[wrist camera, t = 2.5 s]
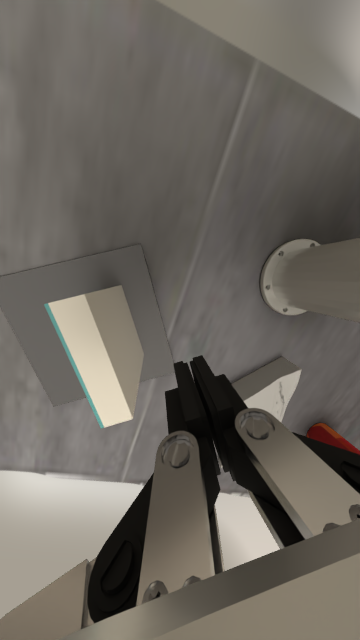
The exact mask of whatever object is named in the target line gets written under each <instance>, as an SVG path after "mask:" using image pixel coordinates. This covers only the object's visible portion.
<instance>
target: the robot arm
mask: <svg viewBox="0 0 360 640" xmlns="http://www.w3.org/2000/svg"><path fill="white" fill-rule="evenodd" d="M260 287H261V293H262V296H263V299H264V301H265V302H266V304H267V305H268V306H269V307H270V308H271V309H272V310H274V311H276V312H278V313H281V314H284V315H298V314H302V313H304V312H306V311H311V312H315V313H319V314H324V315H328V316H332V317H337V318H341V319H345V320H350V321H354V322H358V323H360V238H357V239H351V240H346V241H341V242H335V243H330V244H325V245H320V244H319V243H317V242H316V241H313V240H310V239H298V240H293V241H290V242H287V243H285V244H283V245H281V246H280V247H279V248H277V249H276V250H275V251H274V252H273V253H272V254H271V255H270V257H269V258H268V260H267V261H266V263H265V265H264V267H263V270H262V274H261V280H260ZM173 365H174V370H175V375H176V379H177V384H178V388H175V389H172V390H169V391H165V398H166V410H167V421H168V432H169V435H168V436H166V437H165V438H164V439H163V440H162V442H161V443H160V445H159V447H158V450H157V454H156V461H155V468H154V473H153V475H152V476H151V477H150V479H149V480H148V482H147V483H146V485H145V486H144V488H143V489H142V490H141V492H140V493H139V495H138V496H137V498H136V499H135V501H134V502H133V503H132V505H131V507H130V508H129V509H128V511H127V512H126V514H125V515H124V517H123V518H122V519H121V521H120V522H119V524H118V525H117V527H116V528H115V529H114V531H113V533H112V534H111V535H110V537H109V538H108V540H107V541H106V542H105V544H104V546H103V547H102V549H101V551H100V552H99V554H98V556H97V557H96V558H95V559H93V560H92V561H91V562H89V561H88V560H87V559H86V560H84V561H83V562H82V563H80V564H78V565H77V566H76V567H74V568H73V569H71V570H70V571H68V572H67V573H66V574H64V575H62V576H61V577H60V578H58V579H57V580H55V581H54V582H52V583H51V584H49V585H48V586H47V587H45V588H44V589H42V590H41V591H39V592H38V593H36V594H35V595H34V596H32V597H30V598H29V599H28V600H26V601H25V602H23V603H22V604H20V605H19V606H17V607H16V608H14V609H13V610H11V611H10V612H9V613H7V614H6V615H5V616H4V617H2V618H1V619H0V640H360V455H359V454H357V453H354V452H351V451H348V450H345V449H342V448H339V447H335V446H332V445H329V444H326V443H323V442H320V441H317V440H314V439H311V438H308V437H305V436H302V435H299V434H296V433H293V432H291V431H290V430H289V429H288V428H286V427H285V426H284V425H283V424H282V423H281V422H280V421H279V420H278V419H277V418H275V417H274V416H273V415H272V414H270V413H269V412H267V411H265V410H263V409H259V408H248V407H247V405H246V404H245V403H244V401H243V400H242V398H241V397H240V396H239V394H238V393H237V391H236V390H235V389H234V387H233V386H232V384H231V383H230V382H229V380H228V379H227V377H226V376H225V375H224V374H222V375H219V376H214V374H213V372H212V371H211V369H210V367H209V366H208V364H207V363H206V361H205V359H204V358H203V356H202V355H201V356H198V357H195V358H193V361H190V365H191V369H192V373H193V377H194V380H193V377H192V375H191V372H190V369H189V367H188V364H187V363H183V361H181V362H177V363H174V364H173ZM194 381H195V383H194ZM213 441H214V443H213ZM214 444H215V447H216V450H217V453H218V455H219V458H220V461H221V464H222V467H223V469H224V472H228V471H230V474H231V477H232V479H233V481H235V480H236V482H237V484H239V485H241V486H242V487H244V488H246V489H247V490H248V493H249V495H250V497H251V499H252V501H253V502H254V504H255V506H256V507H257V509H258V511H259V513H260V515H261V516H262V518H263V520H264V522H265V523H266V525H267V527H268V528H269V530H270V532H271V534H272V536H273V537H274V539H275V541H276V543H277V544H278V546H279V548H280V550H278V551H275V552H272V553H270V554H268V555H265V556H262V557H260V558H257V559H255V560H252V561H250V562H247V563H244V564H242V565H239V566H237V567H234V568H232V569H229V570H227V571H225V570H224V563H223V556H222V550H221V543H220V535H219V529H218V522H217V516H216V509H215V505H214V504H215V502H216V499H217V497H218V494H219V491H220V486H219V482H218V478H217V475H220V474H221V472H220V468H219V464H218V460H217V456H216V452H215V448H214Z"/></svg>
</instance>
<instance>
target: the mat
mask: <svg viewBox="0 0 360 640" xmlns="http://www.w3.org/2000/svg"><path fill="white" fill-rule="evenodd" d="M119 285H122V288H123V291H124V294H125V297H126V300H127V303H128V307H129V310H130V313H131V316H132V319H133V322H134V325H135V328H136V331H137V334H138V337H139V340H140V343H141V346H142V350H143V353H144V357H143V363H142V369H141V375H140V380H139V382H142V381H146V380H150V379H153V378H157V377H160V376H164V375H167V374H171V373H174V372H175V370H174V365H173V364H174V361H173V358H172V354H171V351H170V347H169V343H168V340H167V336H166V333H165V329H164V325H163V322H162V318H161V315H160V311H159V307H158V304H157V300H156V297H155V293H154V289H153V286H152V282H151V279H150V275H149V271H148V268H147V264H146V261H145V257H144V253H143V250H142V246H141V244H138V245H133V246H129V247H125V248H121V249H116V250H112V251H108V252H104V253H99V254H95V255H91V256H87V257H82V258H78V259H74V260H70V261H65V262H61V263H57V264H53V265H48V266H44V267H40V268H35V269H31V270H27V271H23V272H18V273H14V274H10V275H6V276H1V277H0V307H1V309H2V311H3V313H4V315H5V317H6V319H7V320H8V322H9V324H10V326H11V328H12V330H13V332H14V334H15V335H16V337H17V339H18V341H19V343H20V345H21V347H22V349H23V350H24V352H25V354H26V356H27V358H28V360H29V362H30V364H31V365H32V367H33V369H34V371H35V373H36V375H37V377H38V379H39V380H40V382H41V384H42V386H43V388H44V390H45V392H46V394H47V395H48V397H49V399H50V401H51V403H52V405H53V407H55V406H58V405H62V404H65V403H69V402H72V401H76V400H79V399H83V398H86V394H85V392H84V390H83V388H82V386H81V384H80V381H79V379H78V377H77V375H76V373H75V371H74V368H73V366H72V364H71V362H70V360H69V358H68V355H67V353H66V351H65V349H64V347H63V345H62V342H61V340H60V338H59V336H58V334H57V332H56V329H55V327H54V325H53V323H52V321H51V319H50V316H49V314H48V312H47V310H46V308H45V306H44V304H47V303H51V302H55V301H59V300H63V299H67V298H71V297H75V296H79V295H83V294H87V293H91V292H95V291H99V290H103V289H107V288H111V287H115V286H119Z"/></svg>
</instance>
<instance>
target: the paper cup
mask: <svg viewBox="0 0 360 640" xmlns="http://www.w3.org/2000/svg"><path fill="white" fill-rule="evenodd" d="M307 437H308V438H311V439H314V440H317V441H320V442H323V443H326V444H329V445H332V446H335V447H339V448H342V449H345V450H348V451H351V452H354V453H357V454H359V455H360V451H359V450H358V449H357V448H355V447H354V446H353V445H352V444H350V443H349V442H348V441H347V440H345V439H344V438H343V437H342V436H340V435H339V434H338V433H337V432H335V431H334V430H333V429H331V428H330V427H329V426H328V425H326V424H324V423H318V424H315V425H313V426H312V427H311V428H310V429H309V430H308V432H307Z"/></svg>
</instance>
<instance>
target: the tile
mask: <svg viewBox="0 0 360 640" xmlns="http://www.w3.org/2000/svg"><path fill="white" fill-rule="evenodd" d="M44 306H45V308H46V310H47V312H48V314H49V316H50V319H51V321H52V323H53V325H54V327H55V329H56V332H57V334H58V336H59V338H60V340H61V342H62V345H63V347H64V349H65V351H66V353H67V355H68V358H69V360H70V362H71V364H72V366H73V368H74V371H75V373H76V375H77V377H78V379H79V381H80V384H81V386H82V388H83V390H84V392H85V394H86V397H87V399H88V401H89V403H90V405H91V408H92V410H93V412H94V414H95V416H96V418H97V421H98V423H99V425H100V427H101V428H104V427H108V426H111V425H114V424H118V423H121V422H124V421H128V420H131V419H133V415H134V410H135V404H136V398H137V392H138V386H139V380H140V375H141V369H142V363H143V357H144V353H143V350H142V346H141V343H140V340H139V337H138V334H137V331H136V328H135V325H134V322H133V319H132V316H131V313H130V310H129V307H128V303H127V300H126V297H125V294H124V291H123V288H122V285H119V286H115V287H111V288H107V289H103V290H99V291H95V292H91V293H87V294H83V295H79V296H75V297H71V298H67V299H63V300H59V301H55V302H51V303H47V304H44Z"/></svg>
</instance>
